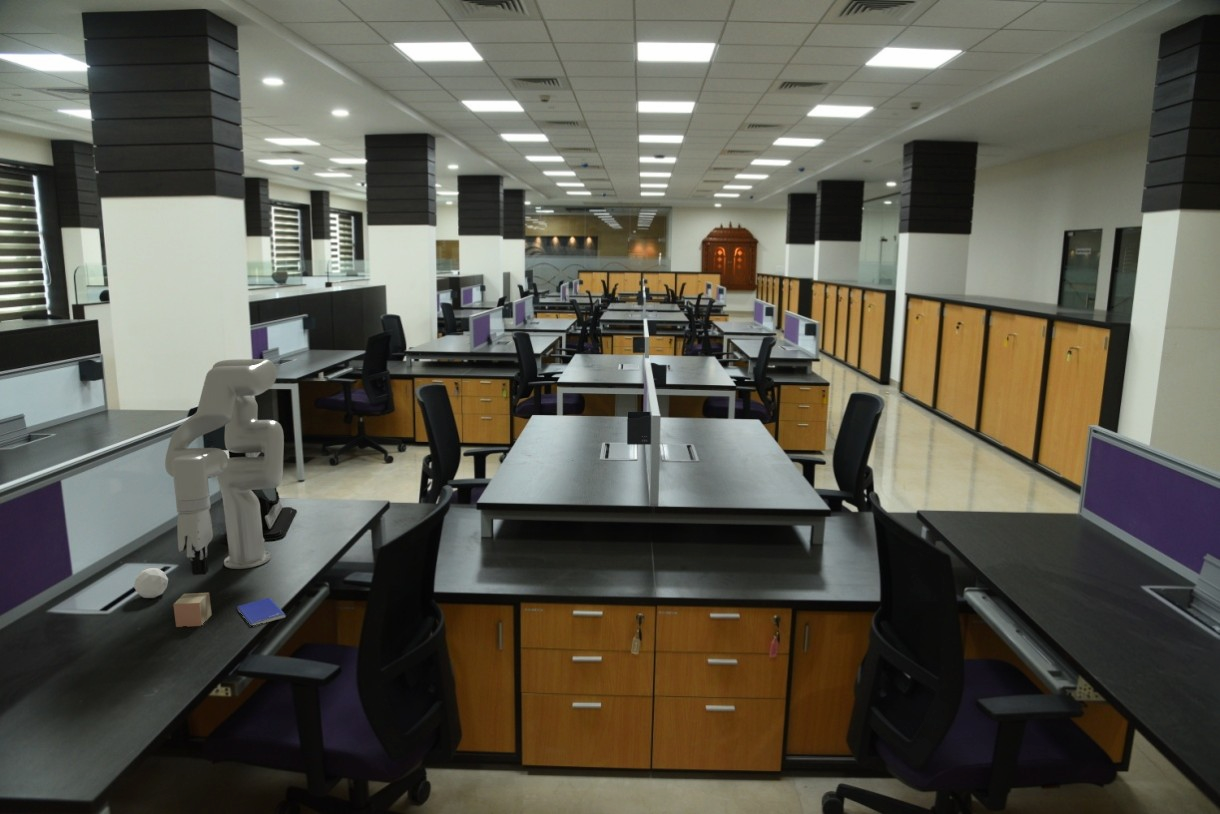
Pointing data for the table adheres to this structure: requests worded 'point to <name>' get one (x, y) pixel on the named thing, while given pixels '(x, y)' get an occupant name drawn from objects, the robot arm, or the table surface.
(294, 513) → the award
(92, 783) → the table surface
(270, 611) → the hard drive
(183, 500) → the robot arm
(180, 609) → the maple cube
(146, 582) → the geometric ball
